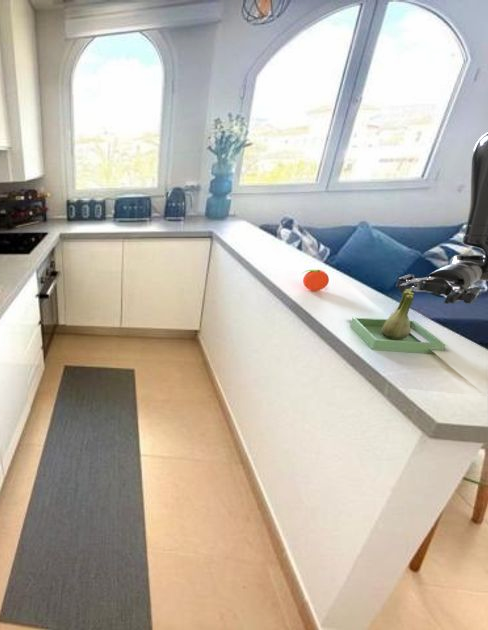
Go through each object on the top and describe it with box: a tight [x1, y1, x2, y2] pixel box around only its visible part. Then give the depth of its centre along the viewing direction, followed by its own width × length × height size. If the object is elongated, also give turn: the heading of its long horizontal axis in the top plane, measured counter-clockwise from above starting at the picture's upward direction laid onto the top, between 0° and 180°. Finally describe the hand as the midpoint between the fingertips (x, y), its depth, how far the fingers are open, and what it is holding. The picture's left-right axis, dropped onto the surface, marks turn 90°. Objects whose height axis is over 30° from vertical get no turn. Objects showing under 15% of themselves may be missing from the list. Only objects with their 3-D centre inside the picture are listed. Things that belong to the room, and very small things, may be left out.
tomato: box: [302, 269, 330, 292], centre depth 113 cm, size 8×7×7 cm
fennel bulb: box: [382, 289, 415, 339], centre depth 82 cm, size 6×5×12 cm
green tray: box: [349, 316, 447, 355], centre depth 84 cm, size 13×12×3 cm
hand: (424, 294), depth 85 cm, fingers open, 8 cm apart
